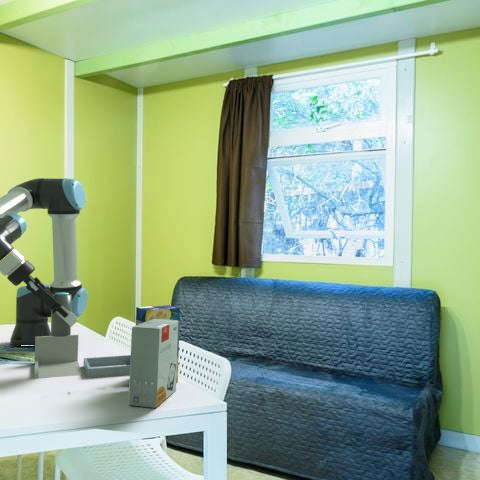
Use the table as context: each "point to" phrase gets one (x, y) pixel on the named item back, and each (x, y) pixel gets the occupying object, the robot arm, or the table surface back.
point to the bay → (56, 356)
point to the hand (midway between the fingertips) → (73, 321)
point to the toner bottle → (57, 323)
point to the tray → (107, 370)
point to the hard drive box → (153, 362)
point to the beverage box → (159, 313)
